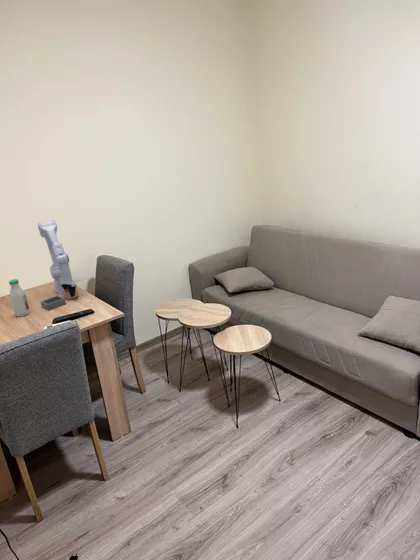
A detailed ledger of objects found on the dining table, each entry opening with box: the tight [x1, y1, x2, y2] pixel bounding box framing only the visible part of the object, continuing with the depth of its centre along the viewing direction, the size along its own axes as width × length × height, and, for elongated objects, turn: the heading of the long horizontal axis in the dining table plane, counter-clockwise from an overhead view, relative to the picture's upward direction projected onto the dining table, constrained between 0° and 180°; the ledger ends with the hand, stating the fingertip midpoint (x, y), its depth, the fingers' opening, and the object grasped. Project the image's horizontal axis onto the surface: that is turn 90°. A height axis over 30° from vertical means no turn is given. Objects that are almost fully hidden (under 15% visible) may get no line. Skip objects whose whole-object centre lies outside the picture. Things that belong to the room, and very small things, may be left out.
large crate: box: [40, 295, 67, 311], centre depth 230 cm, size 9×11×4 cm
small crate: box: [62, 288, 80, 301], centre depth 239 cm, size 5×7×5 cm
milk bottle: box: [8, 278, 31, 317], centre depth 220 cm, size 8×8×20 cm
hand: (70, 295), depth 239 cm, fingers closed on small crate, 5 cm apart
